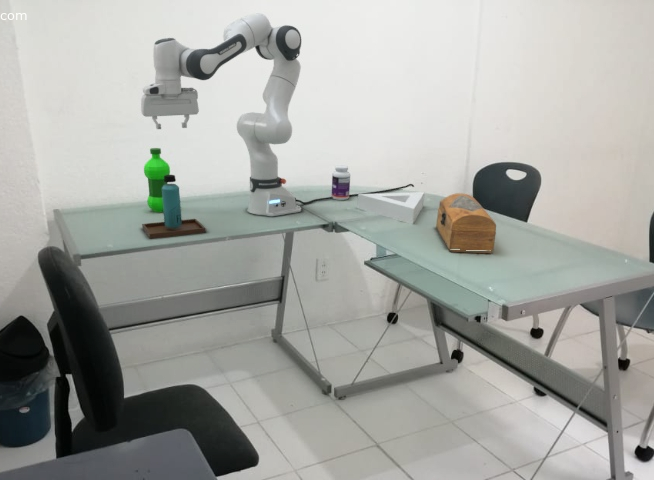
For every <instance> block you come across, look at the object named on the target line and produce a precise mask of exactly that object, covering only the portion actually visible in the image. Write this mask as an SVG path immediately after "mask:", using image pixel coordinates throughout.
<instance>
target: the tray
mask: <svg viewBox="0 0 654 480" xmlns="http://www.w3.org/2000/svg"><path fill="white" fill-rule="evenodd" d="M141 228H142V230H143V232H144V233H145V234H146V235H147V237H148V238H149V239H150V240H152V239H162V238H169V237H179V236H188V235H189V236H190V235H198V234H206V227H205V226H204V225H203V224H202V223H201V222H200V221H199V220H197V219H196V218H190V219H189V218H188V219H182V225H181V226H180V227H175V228H170V227H166V226H165V222H164V221H161V222H149V223H142V224H141Z"/></svg>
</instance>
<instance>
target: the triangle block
mask: <svg viewBox="0 0 654 480" xmlns="http://www.w3.org/2000/svg"><path fill="white" fill-rule="evenodd" d="M357 194H358V196H357V209H358V210H361V211H364V212H368V213H370V214H371V213H372V214H375V215H379V216H382V217H386V218H389V219H393V220H397V221H400V222H402V223H403V222H404V223H407V224H409V225H413V224H414V223H415V221H416V220H417V217H418V216H419V214H420V213H421V211H422V210H423V207H424V203H425V191H417V192H416V191H415V192H382V193H375V194H361V193H357Z"/></svg>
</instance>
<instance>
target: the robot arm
mask: <svg viewBox="0 0 654 480" xmlns="http://www.w3.org/2000/svg"><path fill="white" fill-rule="evenodd" d="M222 38H223V41H222V42H220V43H219V44H217V45H215V46H214V47H212V48H190V47H187V46H186V45H183V44H182V43H180V42H179V41H177V39H176V38H174V37H167V38H166V37H165V38H161V39H158V40H156V41H155V42H154V45H153V49H152V51H153V55H152V57H153V67H154V70H155V77H154V81H155V82H154V83H151V84H149V85H145V86H143V87H142V93H144V94H143V95H142V97H141V99H140V111H141V112H140V113H141V115H142V116H143V117H146V118H149V117H151V119H152V122H154V124H155V129H156V130H162V124H161V123H158V117H169V116H170V117H172V116H183V117H184V121H183V122H181V128H182V129H187V128H188V122H189V120H190V116H192V115H193V116H194V115H198V114H199V111H200V109H199V103H198V98H199V92H198V91H197V89H195V88H194V87H182V77H185V78H188V79H189V78H191V79H196V80H200V81H207V80H209V79H211V78H213V77H214V75H215V74H216V73H217V71H218V70H219V69H220V68H221V67H223V66H224V65H225V64H227V63H228V62H230V61H231V60H234V58H237V57H238V56H239V55H241V54H244V53H246V52H248V51H251V50H252V49H255V51H256V53H257V55H258V56H259V57H260V58H262V59H263V60H267V61H268V60H269V61H273V67H272V71H271V72H270V75H269V77H268V80H267V82H266V85H265V86H264V89H263V92H262V99H263V101H264V103H265V104H266V108H265V112H264V113H262V112H254V111H253V112H246V113H243V114H241V115H240V116H239V117H238V119H237V121H236V131H237V133H238V135H239V136H240V137H241V139H242V140H243V142H244V143H245V145H246V149H247V153H248V155H249V163H250V177H249V182H248V183H249V184H248V185H249V191H250V192H249V193H250V194H249V201H248V205H247V210H246V211H247V213H250V214H252V215H253V214H254V215H258V216H265V217H266V216H268V217H277V216H283V215H289V214H294V213H295V214H296V213H301V212H302V207H301V206H300V205H299V204H297V203H300V204H302V205H309V204H312V203H314V202H317V201H319V202H320V201H326V200H334V199H333V197H332V196H329V197H320V198H315V199H312V200H309V201H302V200H300V199H297V197H296V196H295V195H294V194H293V193H292V192H291V191H290V190H288V189H287V188H286V187H285V186H283V185H286V183H287V179H285V178H284V177H283V178H282V177H279V160H278V159H279V158H278V156H277V155H276V154H275V152H274V151H273V150H272V148H271V145H282V144H286V143H288V142H289V141H290V140H291V137H292V135H293V126H292V123H291V121H290V119H289V106H290V103H291V101H292V98H293V95H294V92H295V91H296V87H297V86H298V85H297V84H298V83H299V79H300V74H301V68H302V66H301V63H300V61H299V59H298V57H299V56H300V54H301V47H302V35H301V32H300V31H299V30H298V28H296V27H295V26H293V25H287V24H285V25H281V26H276V27H273V26H272V25H271V22H270V20H269V18H268V17H267V16H266V15H265V14H263V13H259V12H258V13H252V14H249V15H245V16H243V17H240V18H239V19H237V20H235V21H233V22H231V23H230V24H229V25H227V26H226V27H225V28H224V30H223V35H222ZM408 187H412V188H415V185H414V184H413V183H408V184H407V185H404V186H399V187H394V188H388V189H383V190H378V191H377V190H375V191H369V192H362V193H360V194H379V193H388V192H393V191H396V190H403V189H406V188H408ZM358 194H359V193H353V194H349V198H352V197H358Z"/></svg>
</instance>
